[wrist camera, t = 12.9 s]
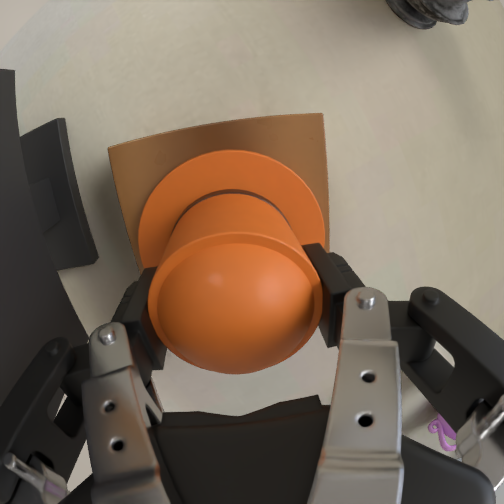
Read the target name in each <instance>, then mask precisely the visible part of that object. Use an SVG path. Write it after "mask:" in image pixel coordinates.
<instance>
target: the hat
mask: <svg viewBox="0 0 504 504" xmlns="http://www.w3.org/2000/svg"><path fill="white" fill-rule="evenodd" d="M313 243H320V244H321V245H322V247H323V248H324V245H325V228H324V221H323V217H322V213H321V210H320V207H319V205H318V202H317V200H316V198H315V196H314V195H313V193H312V191H311V190H310V188H309V187H308V186H307V185H306V184H305V182H304V181H303V180H302V179H301V178H300V177H299V176H298V175H297V174H296V173H295V172H293V171H292V170H291V169H289V168H288V167H286V166H285V165H283V164H282V163H280V162H279V161H277V160H275V159H273V158H270V157H268V156H265V155H262V154H259V153H256V152H251V151H245V150H219V151H213V152H209V153H205V154H201V155H199V156H196V157H194V158H192V159H189V160H187V161H186V162H184V163H182V164H181V165H179V166H177V167H176V168H175V169H174V170H172V171H171V172H170V173H169V174H167V175H166V176H165V177H164V178H163V179H162V180H161V182H160V183H159V184H158V185H157V186H156V187H155V189H154V190H153V192H152V193H151V195H150V196H149V198H148V200H147V202H146V204H145V206H144V209H143V212H142V215H141V218H140V223H139V229H138V245H139V253H140V257H141V261H142V264H143V267H144V269H145V268H149V267H156V266H158V267H157V269H156V272H155V274H154V277H153V279H152V282H151V285H150V288H149V293H148V313H149V317H150V319H151V322H152V324H153V327H154V329H155V331H156V334H157V336H158V337H159V339H160V340H161V341H162V343H163V344H164V345H165V346H166V347H167V348H168V349H169V350H170V351H171V352H172V353H174V354H175V355H176V356H178V357H179V358H181V359H182V360H184V361H186V362H188V363H190V364H192V365H194V366H197V367H199V368H202V369H206V370H210V371H215V372H219V373H225V374H247V373H252V372H256V371H260V370H263V369H265V368H268V367H271V366H273V365H276V364H278V363H280V362H282V361H284V360H286V359H287V358H289V357H290V356H292V355H293V354H295V353H296V352H297V351H298V350H300V349H301V348H302V347H303V346H304V345H305V344H306V343H307V342H308V340H309V339H310V338H311V336H312V335H313V333H314V332H315V330H316V328H317V326H318V324H319V321H320V319H321V315H322V301H323V290H322V284H321V281H320V278H319V276H318V274H317V272H316V270H315V268H314V267H313V265H312V263H311V261H310V260H309V258H308V256H307V255H306V253H305V251H304V250H303V248H302V246H301V245H306V244H313Z"/></svg>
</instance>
